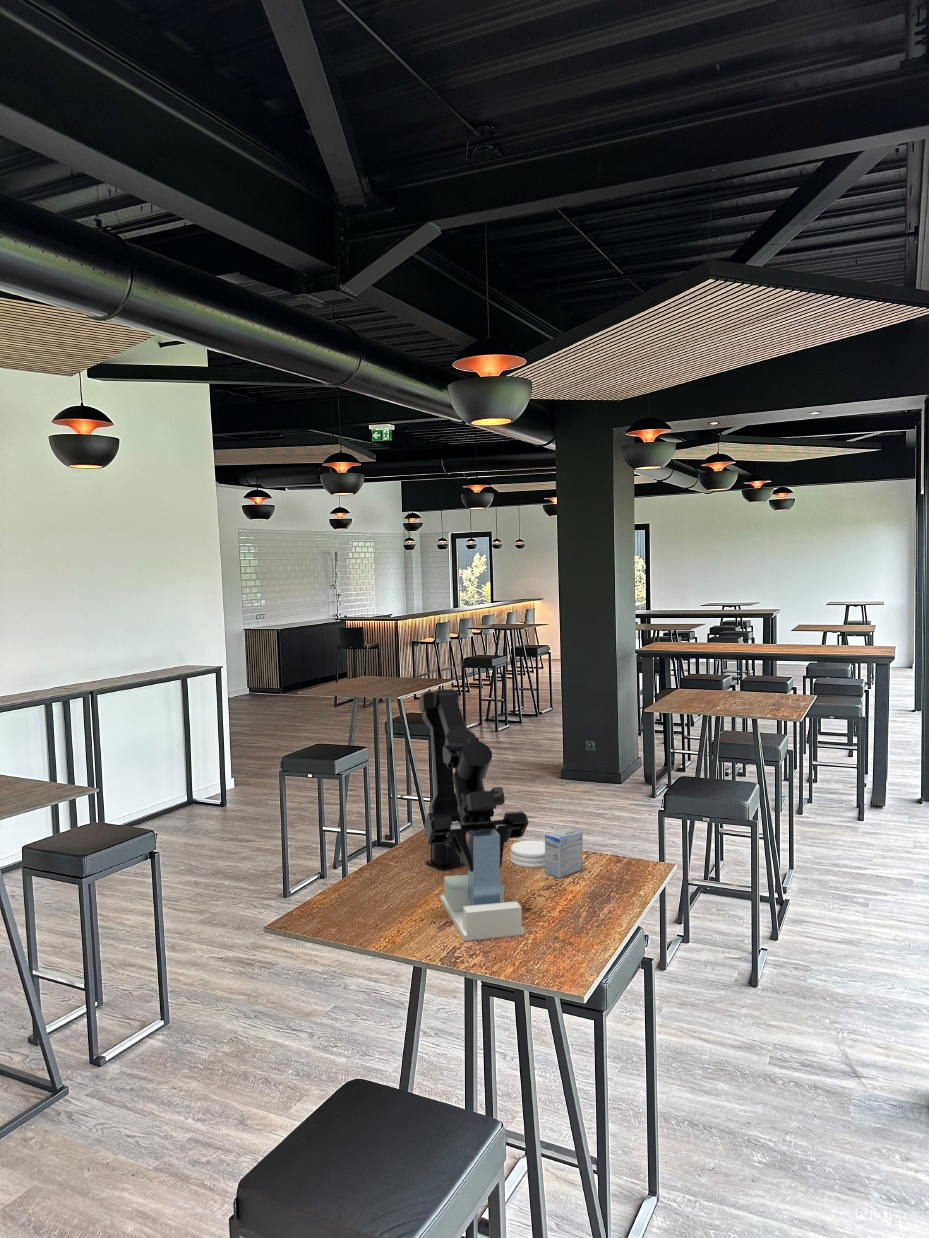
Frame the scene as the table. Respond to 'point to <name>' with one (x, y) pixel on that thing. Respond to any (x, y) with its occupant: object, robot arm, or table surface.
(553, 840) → the medicine box
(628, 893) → the table surface
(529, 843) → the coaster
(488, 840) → the slate-blue block
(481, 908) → the vise bed
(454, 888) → the block
